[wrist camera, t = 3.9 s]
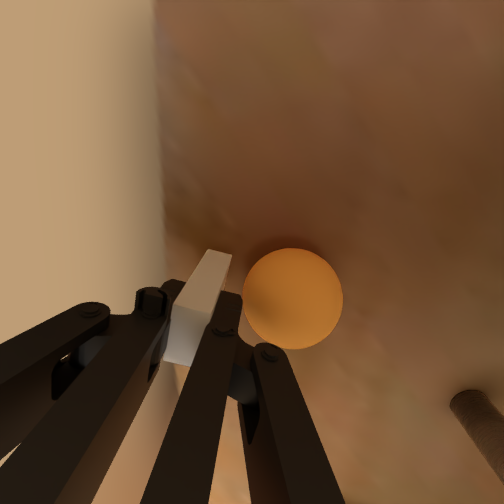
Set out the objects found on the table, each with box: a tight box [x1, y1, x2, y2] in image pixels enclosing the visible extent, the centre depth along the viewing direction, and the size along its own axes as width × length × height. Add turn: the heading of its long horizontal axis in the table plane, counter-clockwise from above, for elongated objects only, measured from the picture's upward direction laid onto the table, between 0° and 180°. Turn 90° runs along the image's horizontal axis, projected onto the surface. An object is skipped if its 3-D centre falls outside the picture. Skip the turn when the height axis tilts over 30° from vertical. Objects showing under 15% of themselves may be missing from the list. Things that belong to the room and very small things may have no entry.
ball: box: [242, 248, 343, 349], centre depth 16 cm, size 6×6×6 cm
